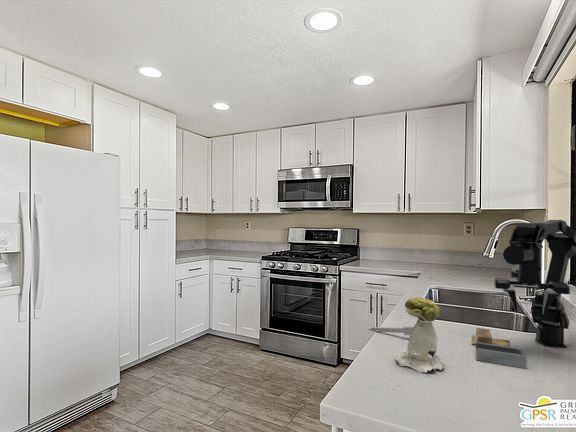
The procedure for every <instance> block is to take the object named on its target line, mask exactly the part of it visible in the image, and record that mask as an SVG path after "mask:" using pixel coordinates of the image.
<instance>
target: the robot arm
mask: <svg viewBox="0 0 576 432" xmlns="http://www.w3.org/2000/svg"><path fill="white" fill-rule="evenodd" d="M544 240H545V241H546V242H547V244H548V245H547V246H548V249H549V251H550V253H551V257H550V261H549V266H548V269H547V270H548V271H547V275H546V279H545V283H543V282H542V249H543V248H544V246H543V245H542V244H543V243H544ZM508 243H509V246H507V247H505V249H504V251H502V252H503V255H502V256H503V259H504V261H505V262H506V263H507V264H509V265H512V266H517V265H518V268H517V267H510V279H509V278H508V277H497V276H496V277H495V278H494V280H493V283H494V284H493V286H494V287H495V289H498V290H499V289H502V290H503V292H505V293H507V294H508V296H509V298H510V301H511V303H512V306H513V309H514V312H515V313H517V312H518V305H517V295H516V290H515V289H514V288H521V289H522V288H523V289H531V290H532V289H533V290H534V289H535V290H543V291H542V293H541V294H540V295H539V294H536V295H535V296H534V300H533V304H532V305H531V307H530V308H531V309H530V311H531V317H532V322H533V323H535V324H537V327H536V328H535V338H534V340H536V341H537V342H538V343H540V344H542V345H543V346H547V347H559V348H560V347H561V348H567V347H568V346H567V344H565V340H564V339H565V338H564V337H565V333H564V331H565V330H564V329H567V330H568V329H569V327H570V326H569V325H570V319H569V317H568V315H567V313H566V311H565V309H566V307H565V305H564V304H563V301H562V300H561V296H562V295H570V294H571V288H570V285H568V284H567V283H565V279H566V274H567V270H568V264H569V261H570V259H571V258H572V257H574V255H576V229H574V228H573V227H571V226H570V225H568V224H567V221H566V220H563V219H549V220H546V221H541V222H517V224H516V226H514V228H513V231H512V234H511V236H510V239H509V242H508ZM511 279H516V280H511Z"/></svg>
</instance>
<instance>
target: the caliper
mask: <svg viewBox="0 0 576 432" xmlns="http://www.w3.org/2000/svg"><path fill="white" fill-rule="evenodd" d="M413 327H414V326H403V327H387V326H386V327H383V326H382V327H381V326H379V327H377V326H376V327H374V326H372V327H370V328H367V330H368V331H371V332H375V333H403V335H404V336H410V334H411V331H412V329H413ZM377 330H378V331H377Z"/></svg>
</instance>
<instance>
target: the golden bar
mask: <svg viewBox="0 0 576 432" xmlns="http://www.w3.org/2000/svg"><path fill="white" fill-rule="evenodd" d="M492 338H493V342H492V344H494V345H501V346H508V347H511V342H510V339H502V338H494V337H492ZM476 342H477V336H476V334H475V335H473V334H471V345H472V346H476Z"/></svg>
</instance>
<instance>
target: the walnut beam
mask: <svg viewBox="0 0 576 432" xmlns="http://www.w3.org/2000/svg"><path fill="white" fill-rule="evenodd" d="M475 329H476V330H475V336H477V342H480V343H487V344H492V342H493V338H494V337H493V335H492V332H491V329H489V328H488V329H487V328H481V327H476V328H475Z"/></svg>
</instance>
